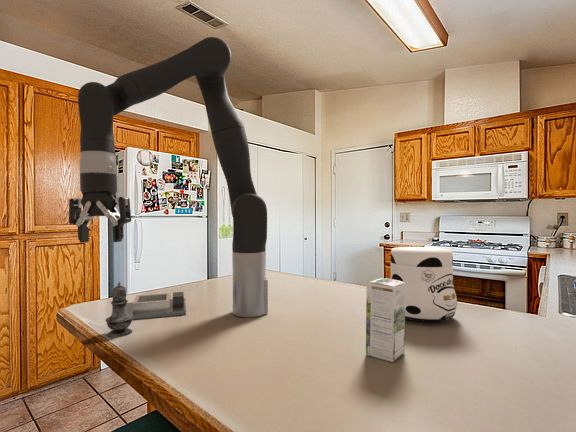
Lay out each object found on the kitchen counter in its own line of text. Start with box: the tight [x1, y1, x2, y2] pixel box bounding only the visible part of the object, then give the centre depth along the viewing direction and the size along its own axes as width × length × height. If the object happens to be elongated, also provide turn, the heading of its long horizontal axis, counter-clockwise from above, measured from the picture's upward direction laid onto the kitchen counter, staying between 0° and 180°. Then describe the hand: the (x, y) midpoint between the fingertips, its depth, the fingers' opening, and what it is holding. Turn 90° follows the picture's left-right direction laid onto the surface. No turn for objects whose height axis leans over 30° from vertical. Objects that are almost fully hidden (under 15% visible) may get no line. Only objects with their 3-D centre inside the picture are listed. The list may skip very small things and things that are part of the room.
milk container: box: [389, 246, 458, 323], centre depth 91 cm, size 17×17×18 cm
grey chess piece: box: [105, 281, 133, 338], centre depth 79 cm, size 6×6×12 cm
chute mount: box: [126, 291, 187, 321], centre depth 97 cm, size 18×14×4 cm
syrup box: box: [365, 277, 406, 363], centre depth 66 cm, size 6×6×14 cm
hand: (100, 242), depth 79 cm, fingers open, 8 cm apart
